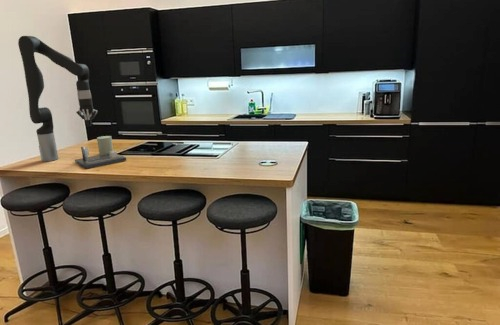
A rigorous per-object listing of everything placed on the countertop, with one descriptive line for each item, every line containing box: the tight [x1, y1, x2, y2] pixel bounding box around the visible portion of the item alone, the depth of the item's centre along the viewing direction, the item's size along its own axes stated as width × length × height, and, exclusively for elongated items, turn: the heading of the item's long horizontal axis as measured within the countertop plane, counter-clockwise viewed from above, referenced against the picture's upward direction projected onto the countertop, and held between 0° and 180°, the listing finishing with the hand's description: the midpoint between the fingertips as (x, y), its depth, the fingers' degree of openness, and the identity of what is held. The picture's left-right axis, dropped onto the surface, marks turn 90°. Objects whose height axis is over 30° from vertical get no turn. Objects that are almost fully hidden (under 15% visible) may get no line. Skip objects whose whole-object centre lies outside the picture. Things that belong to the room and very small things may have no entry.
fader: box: [109, 150, 118, 158], centre depth 217 cm, size 3×4×4 cm
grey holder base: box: [74, 146, 127, 170], centre depth 217 cm, size 24×20×10 cm
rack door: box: [84, 147, 90, 158], centre depth 223 cm, size 13×2×4 cm, turn 16°
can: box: [96, 135, 114, 155], centre depth 236 cm, size 9×9×12 cm
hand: (89, 125), depth 220 cm, fingers closed
